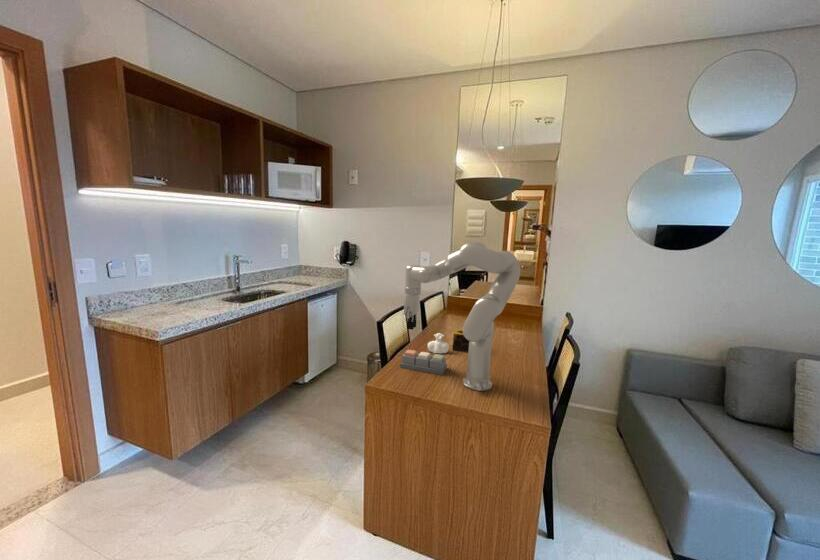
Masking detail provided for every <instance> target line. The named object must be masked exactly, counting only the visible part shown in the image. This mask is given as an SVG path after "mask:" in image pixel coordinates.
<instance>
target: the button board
mask: <svg viewBox="0 0 820 560" xmlns="http://www.w3.org/2000/svg"><path fill="white" fill-rule="evenodd" d="M419 354H420V353H417V352H416V355H415V356H414V357H410V356H405V353H403V354H402V355H401V362H400V364H399V365H400V366H399V367H400V368H402V369H407V370H412V371H418V372H423V373H429V374H434V375H440V376H443V375H444V373H445V371H446V370H447V368H448V364H447V357H444V360H443V361H442V362H439V361H433V360H432V358H433V355H432V354H430V357H429V358H428V360H427V359H421V358H418V355H419Z"/></svg>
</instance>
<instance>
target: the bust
mask: <svg viewBox="0 0 820 560" xmlns="http://www.w3.org/2000/svg"><path fill="white" fill-rule="evenodd" d="M433 336H434V337H435V340H431V341H429V342H428V343H427V349H428V350H427V351H429V353H430V352H431V353H433V354H439V355H442V354H446V353H448V351H449V349H450V345H449V343H447V342H446V341H443V338H444V337H445V335H444V334H443V333H440V332H437V333H436V334H435V333H434V334H433Z"/></svg>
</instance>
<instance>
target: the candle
mask: <svg viewBox="0 0 820 560" xmlns="http://www.w3.org/2000/svg"><path fill="white" fill-rule="evenodd" d="M452 335H453V336H452V337H453V339H452V345H451V347H452V351H454V352H461V353H462V352H465V353H468V351H469V341H468V340H467V339H466V338H465V337H464V334H463V328H462V329H460V328H454V331H453V334H452Z"/></svg>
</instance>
